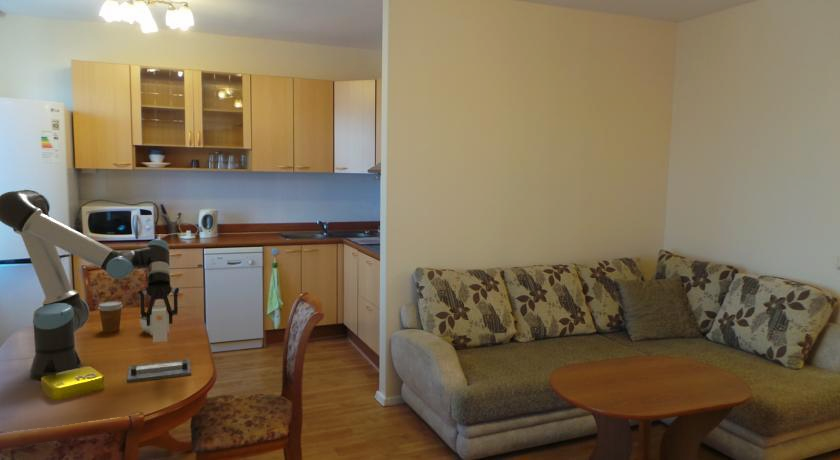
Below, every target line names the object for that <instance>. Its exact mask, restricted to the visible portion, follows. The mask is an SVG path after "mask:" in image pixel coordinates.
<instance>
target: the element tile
mask: <svg viewBox="0 0 840 460" xmlns="http://www.w3.org/2000/svg"><path fill="white" fill-rule="evenodd" d="M40 383H41V384H40V385H41V387H40V388H41V391H42V392H44V393H45V395H47V396H48V397H49V398H50V399H51V400H53V401H61V400H65V399H68V398H73V397H76V395H77V396H80V395H79V394H81V395H85V394H88V393H87V392H89V393H92V392H91V391H93V392H95V390H97V391H100V390H103V389H105V375H104V374H102V373H101V372H99V371H98V370H97V369H95V368H93V367H92V366H89V365H88V366H86V365H85V366H81V368H77V369H72V370H68V371H63V372H59V373H55V374H50V375H46V376H43V377H42V378H41V380H40ZM102 388H103V389H102ZM99 389H100V390H99ZM84 393H85V394H84Z"/></svg>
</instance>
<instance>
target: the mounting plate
mask: <svg viewBox="0 0 840 460" xmlns="http://www.w3.org/2000/svg"><path fill="white" fill-rule="evenodd" d="M191 369H192V368H191V361H190V359H186V358H185V359H182V360H174V361H173V360H172V361H171V360H170V361H164V362H163V361H162V362H155V363H145V364H143V363H142V364H138V365H137V364H132V365H129V367H128V371H127V378H126V383H133V382H136V383H137V382H142V381H143V382H144V381H151V380H152V379H153V380H159V379H167V378H168V379H169V378H176V377H184V376H191V375H192V374H191V373H192V372H191Z"/></svg>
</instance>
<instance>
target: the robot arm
mask: <svg viewBox="0 0 840 460" xmlns="http://www.w3.org/2000/svg"><path fill="white" fill-rule="evenodd" d="M50 206H51V205H50V201H49V200H48V199H47V197H46V196H45V195H44V194H42V193H41V192H39V191H36V190H32V189H31V190H30V189H22V190H21V189H20V190H16V191H15V190H13V191H7V192H5V193H2V194H1V195H0V222H1V223H2V224H4V225H5V226H8V227H10V228H11V229H13V232H14V233H15V234H17V235H18V234H19V235H20V236H21V239H22V241H23V244H24V246H25V248H26V251H27V254H28V256H29V259H30V261H31V264H32V266H33V269H34V271H35V274H36V277H37V279H38V282H39V284H40V286H41V289H42V292H43V294H44V300H43V302H42V306H40V307H38V308H36V309H35V311H34V312H33V318H32V324H33V335H34V336H33V337H34V352H35V353H34V357H33V360H32V363H31V366H30V369H29V376H30V378H31V379H33V380H36V381H41V378H42V377H43V376H46V375H50V374H55V373H59V372H63V371H68V370H72V369H77V368H81V367H82V362H81V359H80V357H79V354H78V352H77V349H76V345H75V343H76V342H75V341H76V340H75V333H76V332H77V331H78V330H79V329H81V328H82V327H83V326H84V325H85V324H86V323H87V321H88V320H89V317H90V308H89V305H88V303H87V302H86V301H85V300H83V299H81V297H80V293H79V291H77V290H74V288H73V289H72V286H71V283H70V281H69V278H68V275H67V273H66V271H65V268H64V265H63V261H62V259H61V257H60V254H59V252H58V250H57V248H58V249H61V250H63V251H65V252H67V253H69V254H71V255H73V256H74V257H77V258H79V259H82V260H83V261H84V262H88V263H89V264H91V265H94V266H96V267H97V268H99V269H102V270H104V271H106V273H107V275H108V276H109V277H111V278H112V279H116V280H120V279H124V278H127V277H128V276H129V275H131V274H132V273H133V272H134V271H136V270H141V269H147V287H146V289H145V290H139V291H138V297H139V298H140V315H141V317H146V318H147V326H150V333H149V335H150V336H153V328H152V315H151V314H152V307H153V306H155V303H156V301H157V300H163V302H164V305H166V311H167V314H166V315H167V335H169V334H170V325H173V323H174V322H173V320H174V319H173V316H174V315H175V316H177V315H178V313H179V312H178V311H179V308H178V303H179V302H178V297H179V294H180V289H179V287H176V288H172V286H171V277H170V276H171V268H170V266H171V265H170V254H171V253H170V247H169V243H168V242H167V241H165V240H164V239H159V238H156V239H152V240H151V241H149V242H148V243H147V246H146V247H143V248H137V249H132V250H131V249H130V250H125V251H124V250H123V251H119V252H118V251H117V250H115V249H113V248H111V247H109V246H107V245H106V244H104V243H101V242H100V241H97V240H95V239H94V238H91V237H90V236H88V235H85V234H83V233H81V231H80V232H79V231H77V230H76V229H74V228H72V227H70V226H69V225H66V224H64V223H63V222H60V221H58V220H56V219H54V218H52V217H50V215H49V212H50V209H51V207H50ZM170 294H172V295H173V309H172V307H171V303H170V301H169V298H168V296H169V295H170ZM147 295H148V296H149V297H150V299H149V304H148V307H147V310H146V308H145V307H146V304H145V303H146V299H145V298H146V297H147ZM145 311H146V312H145Z"/></svg>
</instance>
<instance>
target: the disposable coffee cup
mask: <svg viewBox="0 0 840 460" xmlns="http://www.w3.org/2000/svg"><path fill="white" fill-rule="evenodd" d="M97 308H98V311H99V316H100V321H101V327H102V332H104V333H114V332H118V331H120V326H121V316H122V308H123V304H122V302H121V301H118V300H117V301H116V300H115V301H104V302H100V303H98V307H97Z"/></svg>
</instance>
